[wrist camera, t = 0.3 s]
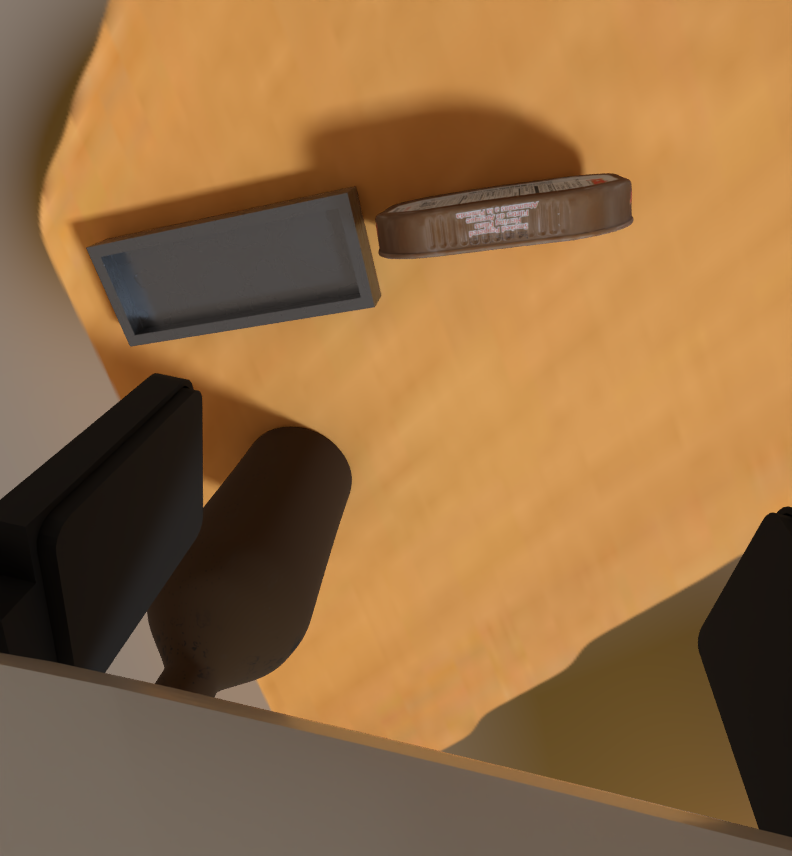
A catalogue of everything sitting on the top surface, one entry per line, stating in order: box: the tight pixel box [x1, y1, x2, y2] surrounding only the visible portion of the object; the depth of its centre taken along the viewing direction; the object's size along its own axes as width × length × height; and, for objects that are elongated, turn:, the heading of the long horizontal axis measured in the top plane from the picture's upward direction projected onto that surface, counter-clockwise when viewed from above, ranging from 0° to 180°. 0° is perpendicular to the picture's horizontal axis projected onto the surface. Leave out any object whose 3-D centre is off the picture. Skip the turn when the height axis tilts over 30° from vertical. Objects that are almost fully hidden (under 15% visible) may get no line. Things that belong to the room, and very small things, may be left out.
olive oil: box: [147, 427, 352, 697], centre depth 44 cm, size 11×11×25 cm
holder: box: [87, 186, 381, 346], centre depth 45 cm, size 8×20×2 cm, turn 102°
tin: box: [376, 173, 633, 259], centre depth 37 cm, size 15×3×8 cm, turn 99°
